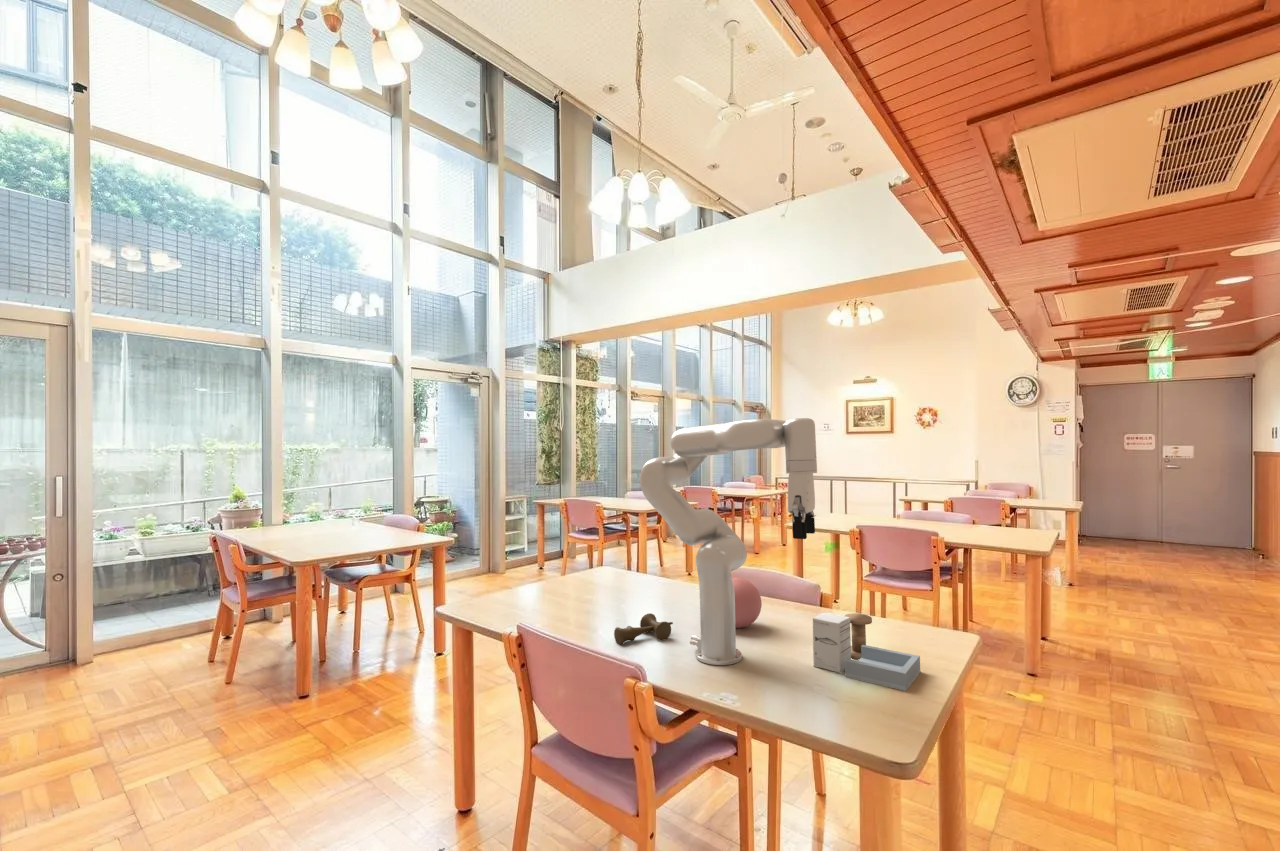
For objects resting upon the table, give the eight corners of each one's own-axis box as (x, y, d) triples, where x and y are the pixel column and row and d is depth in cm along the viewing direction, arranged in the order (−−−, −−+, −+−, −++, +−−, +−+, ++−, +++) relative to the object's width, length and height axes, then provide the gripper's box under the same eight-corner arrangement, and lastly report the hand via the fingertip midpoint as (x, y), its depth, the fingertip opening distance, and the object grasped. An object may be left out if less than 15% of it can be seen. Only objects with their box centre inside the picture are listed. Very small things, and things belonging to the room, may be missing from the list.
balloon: (727, 613, 196) (726, 568, 197) (772, 628, 180) (771, 578, 180) (693, 622, 187) (692, 575, 188) (737, 638, 171) (736, 586, 171)
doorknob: (839, 656, 155) (838, 618, 155) (849, 647, 161) (848, 611, 162) (869, 662, 150) (868, 623, 150) (878, 653, 156) (877, 616, 157)
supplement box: (812, 666, 148) (811, 617, 148) (825, 658, 153) (823, 611, 154) (840, 674, 143) (838, 623, 143) (852, 665, 148) (850, 616, 149)
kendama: (609, 641, 171) (664, 627, 182) (625, 652, 163) (682, 637, 174) (608, 621, 171) (663, 609, 182) (624, 631, 163) (681, 617, 174)
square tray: (845, 676, 141) (844, 660, 141) (863, 659, 152) (862, 644, 152) (905, 691, 132) (905, 673, 132) (920, 672, 143) (919, 655, 143)
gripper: (794, 466, 153) (797, 530, 152) (777, 468, 138) (780, 540, 137) (823, 466, 149) (826, 531, 148) (809, 468, 134) (812, 541, 133)
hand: (804, 535), depth 143 cm, fingers open, 9 cm apart
